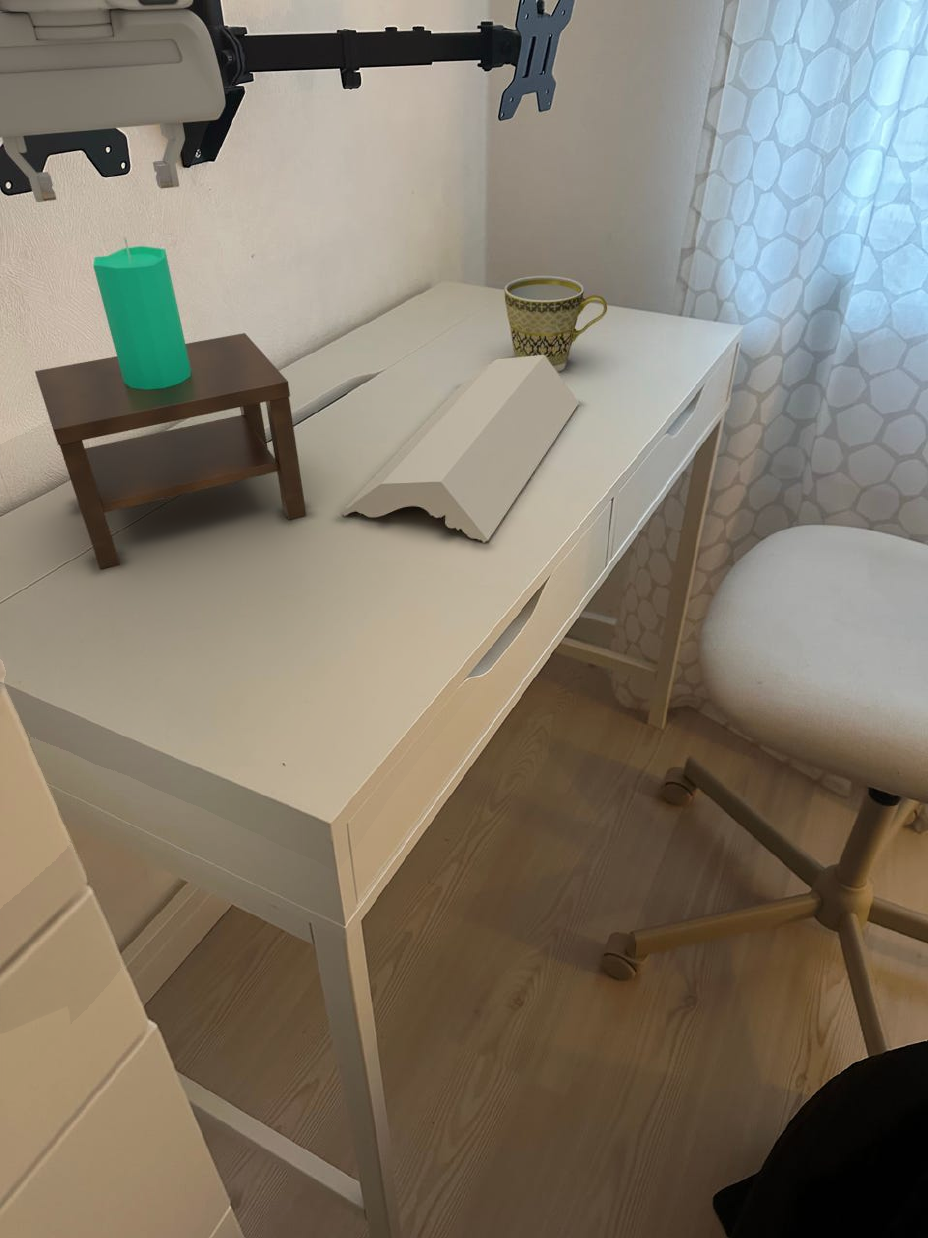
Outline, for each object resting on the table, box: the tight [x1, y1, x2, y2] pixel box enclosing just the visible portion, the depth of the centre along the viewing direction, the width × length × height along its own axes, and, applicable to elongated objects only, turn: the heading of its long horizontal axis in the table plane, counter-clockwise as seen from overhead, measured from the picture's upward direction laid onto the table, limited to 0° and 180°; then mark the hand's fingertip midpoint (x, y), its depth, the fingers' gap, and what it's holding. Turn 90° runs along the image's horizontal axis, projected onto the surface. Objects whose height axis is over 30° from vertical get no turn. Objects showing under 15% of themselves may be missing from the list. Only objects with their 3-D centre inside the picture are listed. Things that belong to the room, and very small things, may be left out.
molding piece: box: [341, 355, 580, 544], centre depth 98 cm, size 32×12×10 cm
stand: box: [34, 332, 307, 570], centre depth 86 cm, size 20×14×14 cm
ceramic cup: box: [503, 275, 608, 373], centre depth 114 cm, size 13×10×10 cm
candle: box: [92, 236, 191, 390], centre depth 78 cm, size 6×6×12 cm
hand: (108, 193), depth 71 cm, fingers open, 8 cm apart
